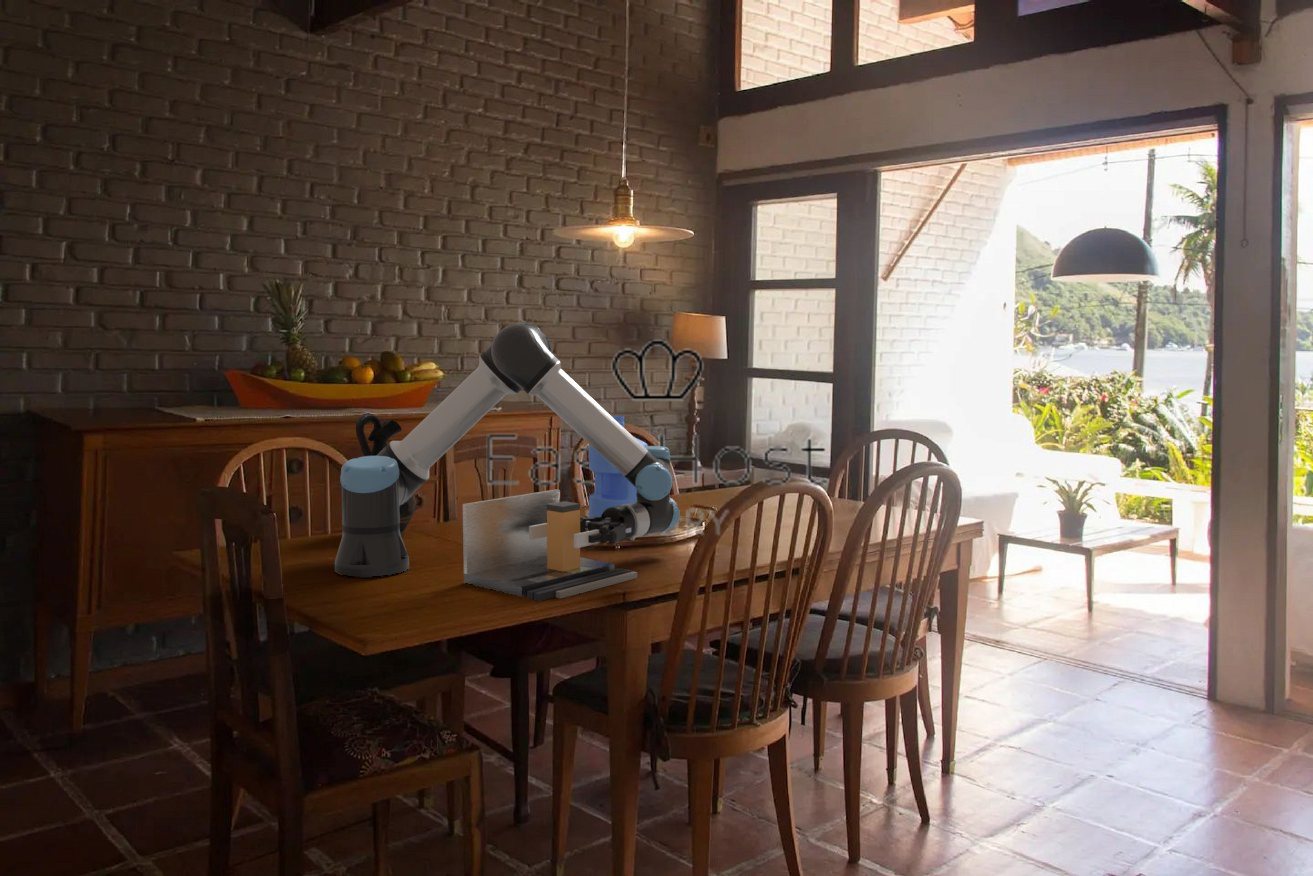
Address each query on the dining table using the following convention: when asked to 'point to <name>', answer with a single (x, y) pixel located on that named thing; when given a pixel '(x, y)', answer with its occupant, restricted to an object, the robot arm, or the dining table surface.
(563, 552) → the lever
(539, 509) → the l-shaped metal bracket
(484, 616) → the dining table surface
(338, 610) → the dining table surface
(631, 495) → the water jug
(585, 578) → the long grooved rail
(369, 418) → the ceramic jug
